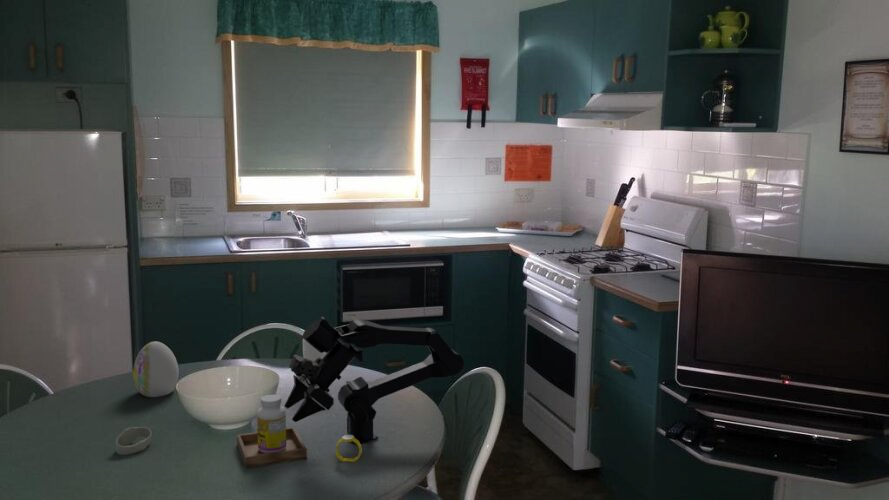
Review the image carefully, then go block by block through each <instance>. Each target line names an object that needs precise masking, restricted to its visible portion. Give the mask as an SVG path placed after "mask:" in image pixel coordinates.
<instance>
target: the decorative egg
mask: <svg viewBox="0 0 889 500" xmlns="http://www.w3.org/2000/svg"><path fill="white" fill-rule="evenodd" d="M179 374H180V372H179V364H178V361H177V358H176V357H175V355H174V353H173V351H172V350H171V349H170V348H169V347H168V346H167V345H166V344H164V343H162V342H160V341H150V342H148V343H147V344H145V345H144V346H143V347H142V348H141V350H140V351H139V352H138V354H137V356H136V357H135V360H134V364H133V368H132V377H133V378H132V379H133V383H134V386H135V388H136V389H137V391H138V392H139V393H140V394H141V395H142V396H143V397H147V398H159V397H164V396H167V395H170V394H171V393H172V392H173V391H174V390H175V388H176V386H177V384H178V381H179Z"/></svg>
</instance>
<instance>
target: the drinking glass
mask: <svg viewBox="0 0 889 500" xmlns="http://www.w3.org/2000/svg"><path fill="white" fill-rule="evenodd" d="M302 354H303V355H302V357H304V358H307V359H309V360H312V361H315V360H316V359H317V358H321V359H322V358H323V357H324V356H325V355H326V354H327V353H326V352H323V353H320V352H319V351H318V350H316V349H315V348H314V347H313V346H311V345H310V344H309V343H308V342H307V341H305V340H304V339H303V338H302Z"/></svg>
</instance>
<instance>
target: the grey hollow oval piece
mask: <svg viewBox="0 0 889 500" xmlns="http://www.w3.org/2000/svg"><path fill="white" fill-rule="evenodd" d="M152 433H153V432H152V430H151V429H150V428H149V427H145V426H136V427H133V426H129V427H128V428H125V429H123V430H122V431H121V433H120V434H119V435H118V436H117V437H116V439H115V452H116V453H117V454H119V455H124V456H125V455H131V454H135V453H138V452H140V451H144V450H146V448H147V447H148V446H149V445H151V443H152V436H153V435H152ZM141 437H145V439H142V440H140V441H138V442H137V443H134V444H133V442H135V441H136V440H137V439H138V438H141Z"/></svg>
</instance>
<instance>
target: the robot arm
mask: <svg viewBox="0 0 889 500" xmlns="http://www.w3.org/2000/svg"><path fill="white" fill-rule="evenodd" d="M301 338H302V340H303V339H304V340H305V341H307V342H308V343H309V344H310V345H311V346H313V347H314V348H315V349H316V350H318V351H319V352H320V353H323V352H326V355H325V356H324V357H323V358H322V359H321V358H317V359H316V360H315V361H312V360H309V359H307V358H304V357H303V356H300V355H297V354H293V356H292V358H291V361H290V363H289V365H288V368H290V371H291V372H292V373H294V374H293V376H292V377H293V383H294V384H293V386H292V387H293V388H292V389H291V390H290V393H289V396H288V397H287V400H286V402H285V403H284V406H283V407H284V408H285V409H287V410H288V409H290V408H292V407H293V406H294V405H296V404H298V403H299V402H301V401H302V400H303V401H302V403H301V405H300V406H299V407H298V409H297V411H296V412H295V413H294V415H293V417H292V419H291V420H292V421H293V422H295V423H297V422H299V421H301V420H303V419H306V418H307V417H310V416H313V415H315V414H317V413H319V412H322V411H324V412H325V410H328V411H329V410H330V409H331V408H332V407H333V405H334V404H335V403H334V402H335V401H334V397H333V396H332V394H330V391H331V390H330V386H331V385H332V384H333V383H334V382H335V381H336V380H338V381H340V379H342V376H341V374H342V373H343V371H345V370H346V368H347V367H348V366H349V365H350V364H351V362H352V361H353V360H354V359H357V360H358V361H359V362H360V363H362V362H363V361H364V357H363V352H364V351H363V349H364V348H365V349H366V348H373V347H377V346H381V345H386V344H390V345H392V344H393V345H407V346H408V345H409V346H410V345H412V346H425V347H426V346H427V349H428V350H429V351H430V354H429V355H428V356H427V357H426V358H425V359H424V360H423V361H421V362H418V363H416V364H413V365H411V366H407V367H405V368H403V369H400V370H397V371H395V372H393V373H390V374H387V375H385V376H383V377H379V378H376V379H374V380H372V381H371V380H370V381H366V379H364V378H363V377H362V376H359V377H357V378H355V379H353V380H349V381H348V380H347V381H346V384H344V385H342V386H341V387H340V389H339V390H338V393H337V399H338V402H339V403H340V405H341V406H342V407H343V409H344V410H345V411H346V412H347V413H346V414H347V417H346V435H353V436H354V438H355V439H357V440H358V441H359V442H360V444H361V445H364V444H366V443H369V442H372V441H374V440H377V439H379V436H378V435H377V434H374V420H375V417H376V415H377V410H376V409H375V408H374V407H373V405H374V404H375V403H376V402H378V401H379V400H380V399H382V398H385V397H387V396H390V395H392V394H394V393H397V392H400V391H401V390H406V389H407V388H410V387H412V386H414V385H417V384H420V383H422V382H425V381H427V380H430V379H445V378H450V377H455V376H457V375H459V374H460V373H461V372H462V370H463V369H464V365H465V362H464V361H465V360H464V359H463V357H462V356H461V355H460V354H459V353H457V351H455V350H454V349H452V348H450V346H449V345H448V344H447V343H446V342H445V341H444V339H443V338H442V336H441V334H440V333H439V331H436V330H435V329H433V328H432V327H425V328H423V327H422V328H421V327H410V326H409V327H407V326H406V327H405V326H388V325H383V324H382V325H381V324H378V323H375V322H372V321H370V320H364V319H361V318H355V319H352V320H351V321H350V322H349V323H348V324H344V325H341V326H337V327H334V326H333V325H331V324H330V323H329V321H328V320H326V318H325V317H323V316H320V317H319V319H316V320H315V321H313V322H311V323H310V324H309V325H308V326H307V327H306V328H305V330H304V332H303V334H302V337H301ZM340 339H341V340H342V341H343V342H342V341H341V340H340ZM354 345H355V347H354ZM356 347H357V348H356ZM350 443H352V444H354V445H357V444H356V443H355V442H353V441H351V442H350Z"/></svg>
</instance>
